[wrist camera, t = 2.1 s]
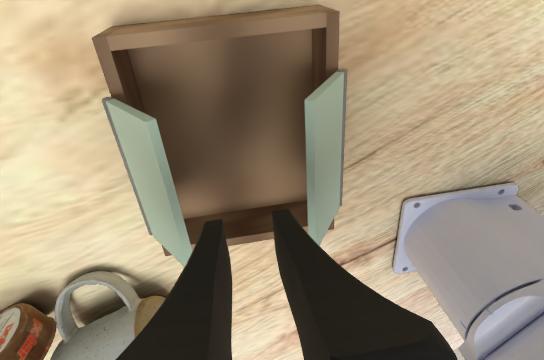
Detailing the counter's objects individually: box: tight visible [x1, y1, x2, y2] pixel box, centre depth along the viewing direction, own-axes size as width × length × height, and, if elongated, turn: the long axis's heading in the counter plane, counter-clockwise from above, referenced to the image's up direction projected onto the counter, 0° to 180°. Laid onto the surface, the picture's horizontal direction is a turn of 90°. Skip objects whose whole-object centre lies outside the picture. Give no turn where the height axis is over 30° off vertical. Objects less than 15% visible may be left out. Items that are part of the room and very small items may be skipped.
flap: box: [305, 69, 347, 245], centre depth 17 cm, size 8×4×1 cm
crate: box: [92, 5, 339, 256], centre depth 20 cm, size 11×13×3 cm
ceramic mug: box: [51, 271, 166, 360], centre depth 25 cm, size 11×8×8 cm
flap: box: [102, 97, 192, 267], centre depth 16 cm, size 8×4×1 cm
